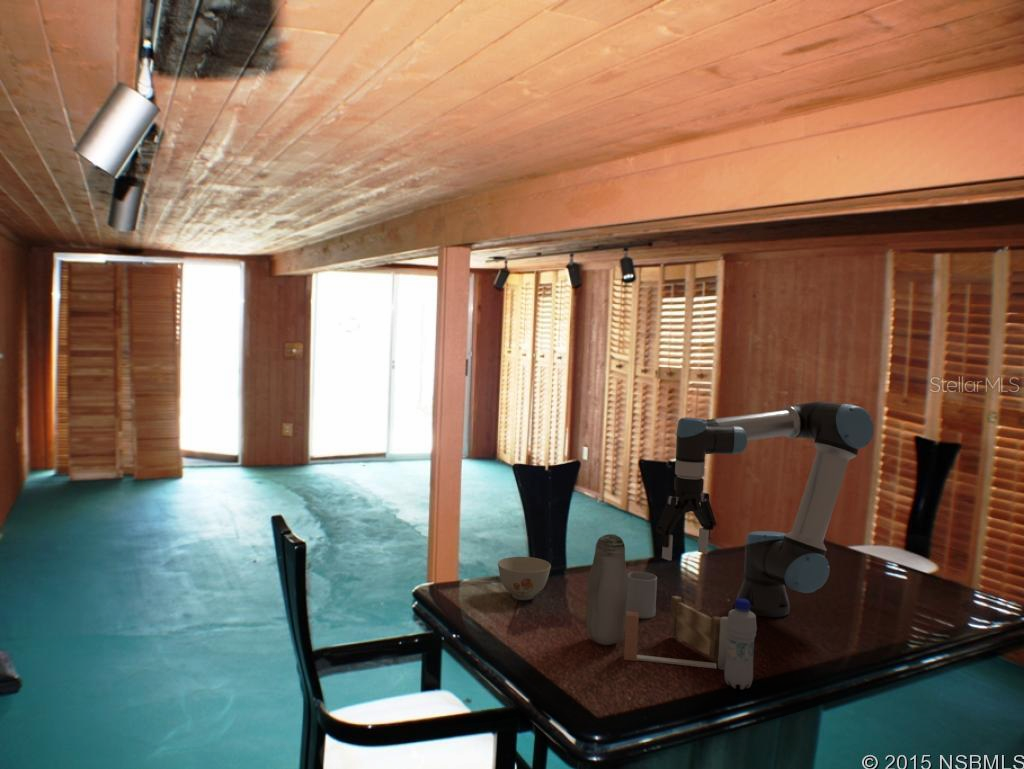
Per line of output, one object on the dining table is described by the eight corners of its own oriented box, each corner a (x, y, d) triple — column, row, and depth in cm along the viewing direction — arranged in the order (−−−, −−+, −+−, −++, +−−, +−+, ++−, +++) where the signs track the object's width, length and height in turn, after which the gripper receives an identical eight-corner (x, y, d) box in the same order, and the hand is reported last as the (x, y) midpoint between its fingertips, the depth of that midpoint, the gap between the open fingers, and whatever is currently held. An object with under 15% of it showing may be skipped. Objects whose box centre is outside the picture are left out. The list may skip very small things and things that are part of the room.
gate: (719, 658, 185) (721, 618, 184) (713, 659, 184) (715, 619, 183) (674, 632, 201) (676, 595, 200) (669, 633, 200) (671, 596, 199)
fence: (730, 665, 183) (733, 617, 182) (732, 671, 180) (735, 622, 179) (624, 654, 187) (626, 607, 187) (624, 659, 184) (626, 611, 184)
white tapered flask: (615, 653, 188) (621, 542, 186) (578, 643, 193) (583, 535, 191) (631, 641, 196) (636, 535, 194) (595, 632, 201) (600, 528, 200)
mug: (661, 616, 215) (663, 579, 214) (635, 620, 212) (637, 581, 211) (638, 603, 226) (639, 566, 225) (613, 605, 222) (615, 569, 222)
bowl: (487, 600, 223) (489, 566, 222) (508, 585, 238) (509, 553, 237) (538, 609, 217) (540, 575, 216) (556, 593, 232) (558, 561, 231)
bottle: (718, 678, 176) (723, 594, 175) (746, 678, 176) (751, 594, 175) (729, 691, 169) (734, 604, 168) (758, 691, 170) (763, 604, 168)
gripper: (710, 471, 209) (706, 546, 210) (644, 477, 195) (640, 558, 196) (732, 475, 203) (727, 553, 204) (665, 482, 189) (661, 565, 190)
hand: (685, 556), depth 200 cm, fingers open, 13 cm apart
